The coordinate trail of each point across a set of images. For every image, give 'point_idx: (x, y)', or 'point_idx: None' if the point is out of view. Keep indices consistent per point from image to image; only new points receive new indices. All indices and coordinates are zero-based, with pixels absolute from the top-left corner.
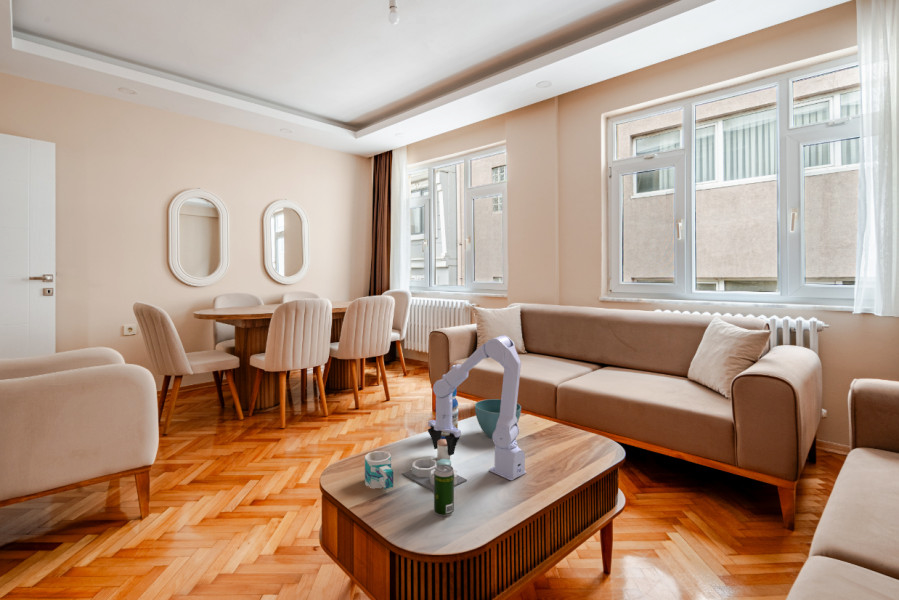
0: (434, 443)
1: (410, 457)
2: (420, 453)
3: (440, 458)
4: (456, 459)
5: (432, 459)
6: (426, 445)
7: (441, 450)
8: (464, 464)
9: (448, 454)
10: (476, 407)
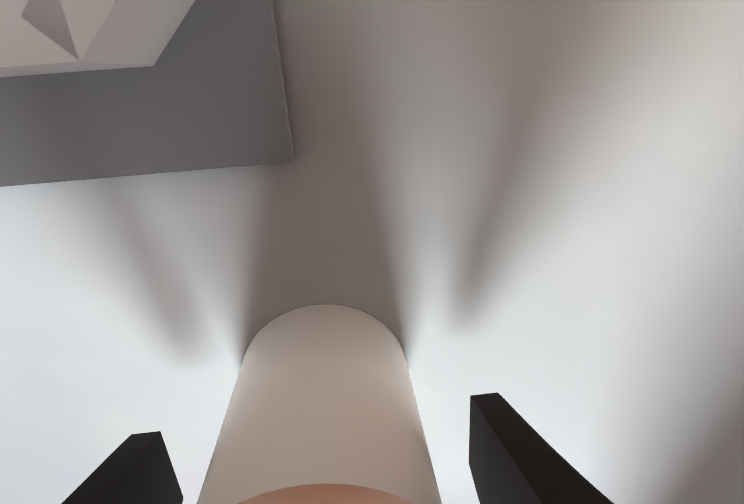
0: (514, 468)
1: (679, 21)
2: (649, 230)
3: (288, 327)
4: None
5: (9, 59)
6: (736, 404)
7: (255, 424)
8: (40, 460)
9: (141, 441)
10: None
